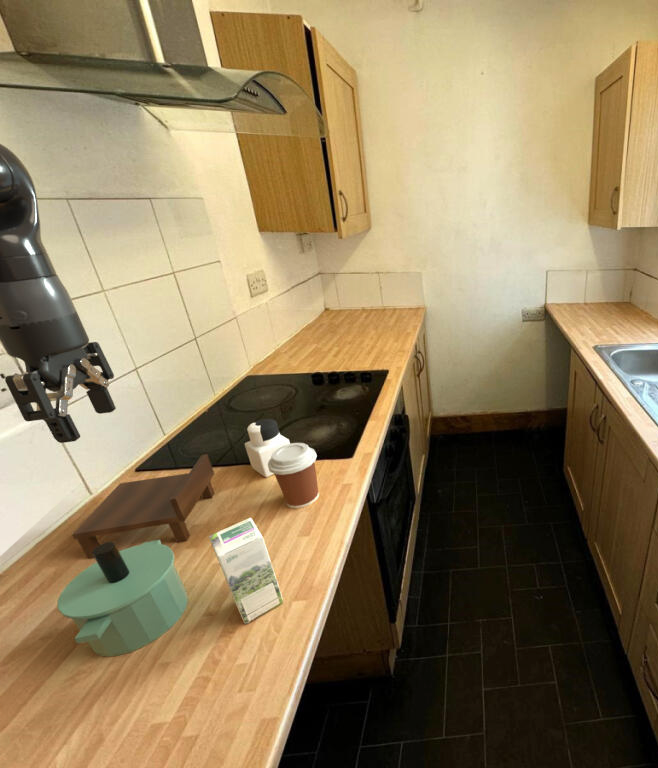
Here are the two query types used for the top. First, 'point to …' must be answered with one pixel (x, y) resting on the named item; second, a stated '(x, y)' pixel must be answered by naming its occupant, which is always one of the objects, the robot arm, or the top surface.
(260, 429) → the medicine bottle
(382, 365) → the top surface
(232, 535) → the milk carton
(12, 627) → the top surface
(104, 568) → the lid
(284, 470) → the coffee cup
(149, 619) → the pot
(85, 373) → the robot arm
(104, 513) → the shelf
